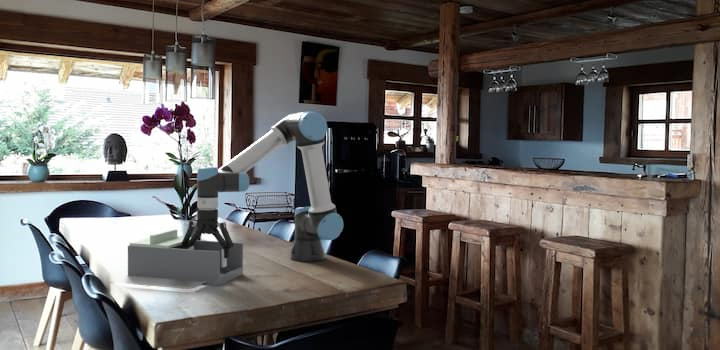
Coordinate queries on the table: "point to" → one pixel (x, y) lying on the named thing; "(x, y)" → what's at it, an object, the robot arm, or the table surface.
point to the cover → (161, 240)
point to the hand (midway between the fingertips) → (207, 265)
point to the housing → (186, 262)
